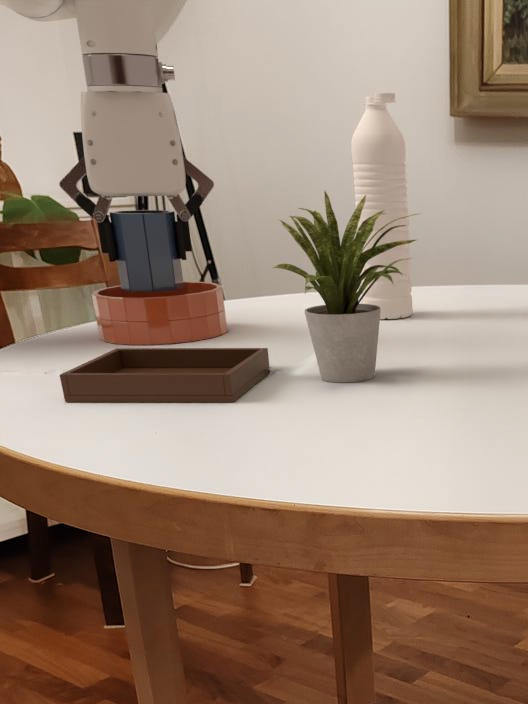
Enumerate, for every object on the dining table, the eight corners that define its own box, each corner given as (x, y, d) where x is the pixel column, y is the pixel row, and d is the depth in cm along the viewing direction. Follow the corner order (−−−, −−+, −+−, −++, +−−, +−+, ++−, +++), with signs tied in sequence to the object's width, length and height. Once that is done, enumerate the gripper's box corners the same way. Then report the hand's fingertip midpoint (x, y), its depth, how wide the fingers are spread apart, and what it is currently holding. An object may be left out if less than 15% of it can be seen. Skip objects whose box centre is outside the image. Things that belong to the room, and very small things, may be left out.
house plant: (394, 400, 85) (383, 193, 78) (248, 393, 88) (223, 194, 81) (439, 366, 97) (433, 185, 90) (310, 362, 101) (293, 187, 93)
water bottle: (357, 314, 129) (342, 96, 117) (405, 310, 130) (395, 96, 119) (373, 324, 121) (358, 92, 110) (423, 320, 123) (414, 92, 112)
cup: (113, 291, 109) (101, 213, 106) (136, 284, 115) (125, 209, 111) (170, 292, 109) (159, 213, 105) (189, 285, 114) (180, 210, 111)
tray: (64, 402, 87) (59, 374, 85) (120, 373, 97) (116, 348, 96) (233, 402, 85) (229, 374, 84) (270, 372, 96) (267, 347, 95)
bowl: (80, 350, 109) (70, 298, 106) (130, 328, 121) (122, 281, 119) (205, 350, 108) (198, 297, 105) (243, 328, 120) (237, 280, 118)
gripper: (208, 81, 108) (226, 254, 116) (38, 78, 104) (69, 258, 112) (210, 77, 101) (229, 261, 109) (29, 73, 97) (63, 265, 105)
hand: (148, 258), depth 110 cm, fingers closed on cup, 6 cm apart
